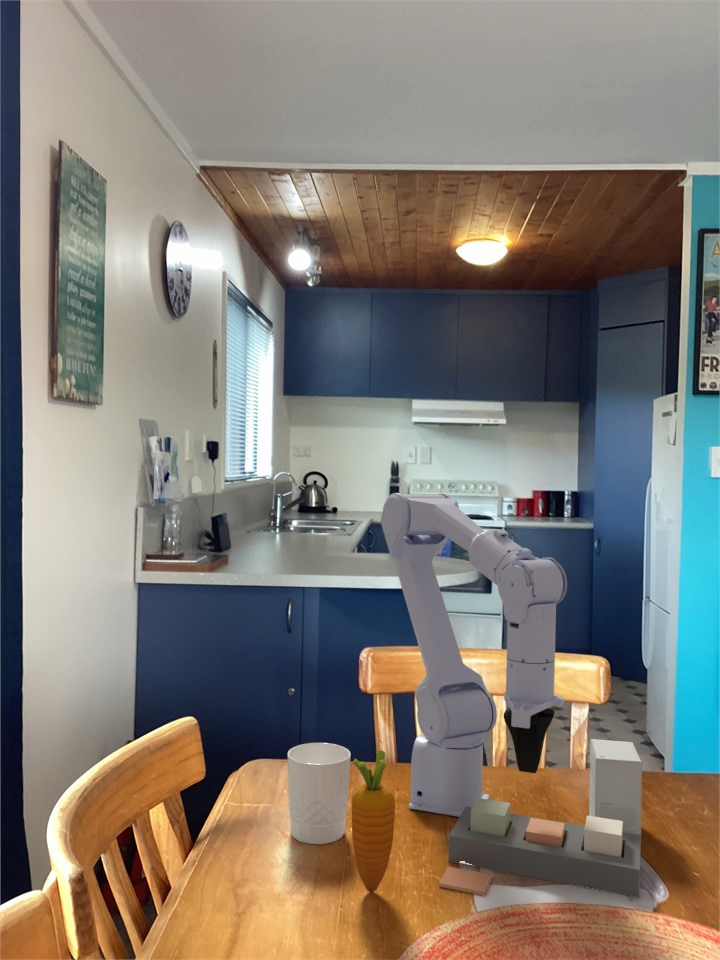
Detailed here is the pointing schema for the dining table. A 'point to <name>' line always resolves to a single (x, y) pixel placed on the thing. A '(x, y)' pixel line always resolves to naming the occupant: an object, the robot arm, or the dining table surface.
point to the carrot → (372, 823)
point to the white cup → (318, 791)
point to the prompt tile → (466, 880)
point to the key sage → (490, 817)
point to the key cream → (603, 836)
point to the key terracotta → (546, 832)
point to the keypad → (548, 856)
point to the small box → (616, 783)
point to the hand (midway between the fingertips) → (528, 770)
